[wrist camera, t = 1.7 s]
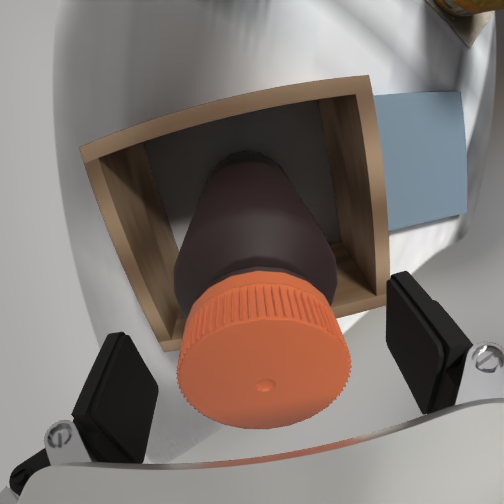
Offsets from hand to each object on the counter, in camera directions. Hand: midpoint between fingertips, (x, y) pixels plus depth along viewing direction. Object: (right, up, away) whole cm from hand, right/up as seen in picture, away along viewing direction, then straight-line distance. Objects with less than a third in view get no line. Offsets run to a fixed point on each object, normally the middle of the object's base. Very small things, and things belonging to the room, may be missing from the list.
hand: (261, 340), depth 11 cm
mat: (+15, +11, +15) cm, 24 cm away
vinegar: (-1, +8, +16) cm, 18 cm away
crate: (-1, +8, +16) cm, 18 cm away
